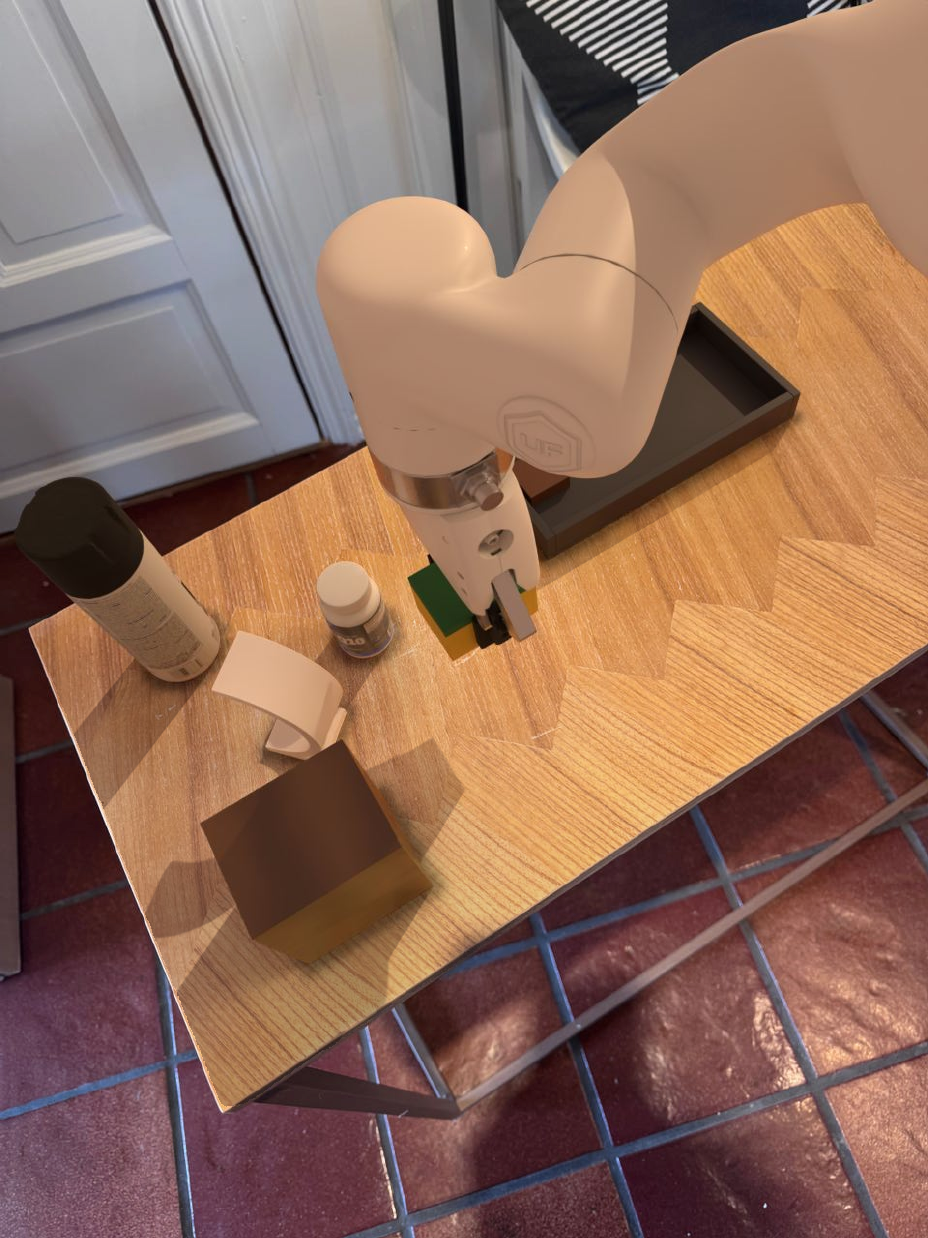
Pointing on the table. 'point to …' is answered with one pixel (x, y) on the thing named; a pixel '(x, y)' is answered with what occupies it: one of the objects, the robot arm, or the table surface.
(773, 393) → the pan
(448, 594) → the sponge
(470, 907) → the table surface
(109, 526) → the spray can
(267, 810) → the brown wooden cube
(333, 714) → the cream curved piece
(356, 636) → the pill bottle
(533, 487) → the reddish brown block
